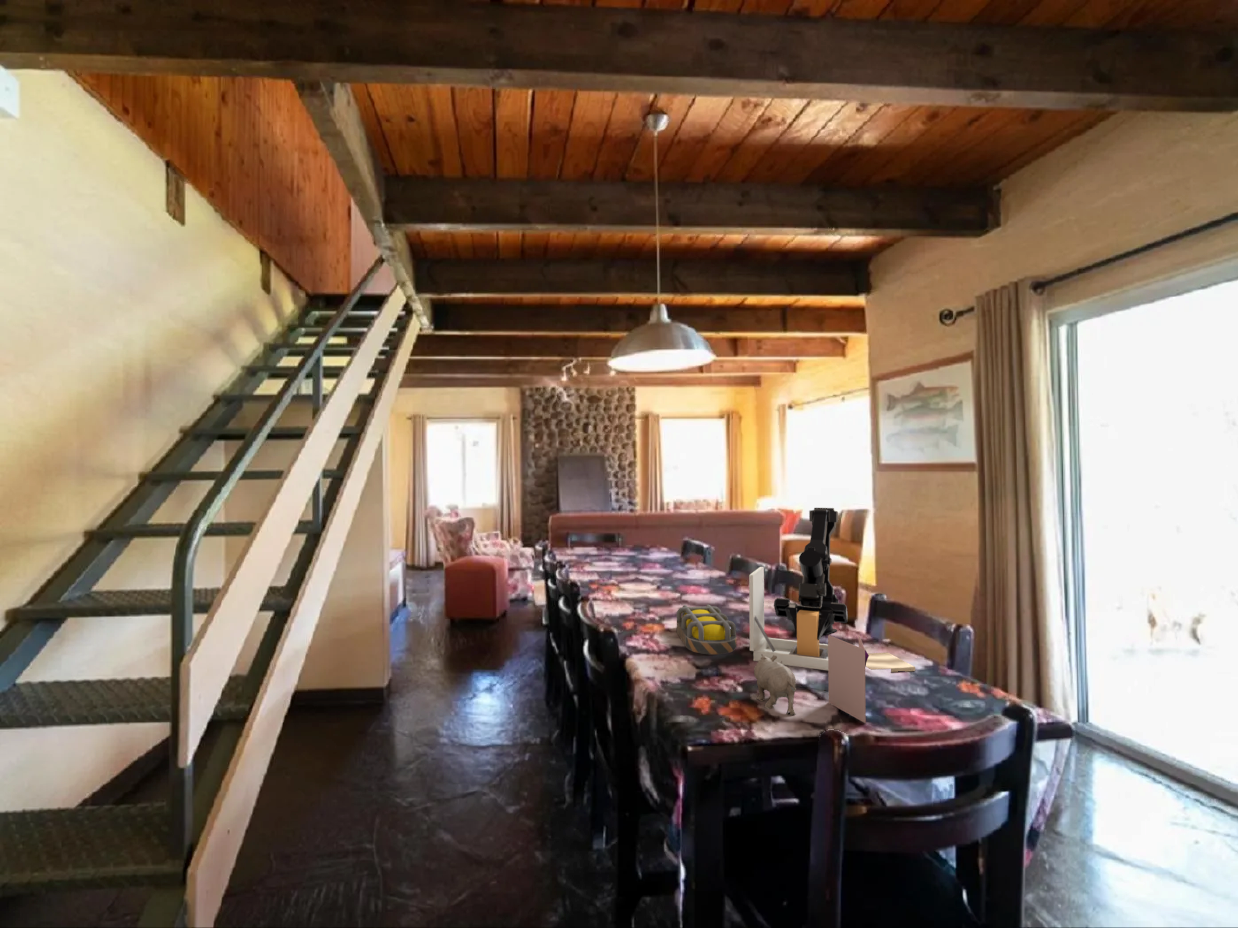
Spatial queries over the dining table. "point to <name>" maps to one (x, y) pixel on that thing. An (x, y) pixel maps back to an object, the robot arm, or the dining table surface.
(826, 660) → the equipment case
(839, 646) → the greeting card
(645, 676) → the dining table surface
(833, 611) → the robot arm
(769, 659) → the rhinoceros figurine
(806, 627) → the block
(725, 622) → the cage light
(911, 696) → the dining table surface
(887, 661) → the wooden board
